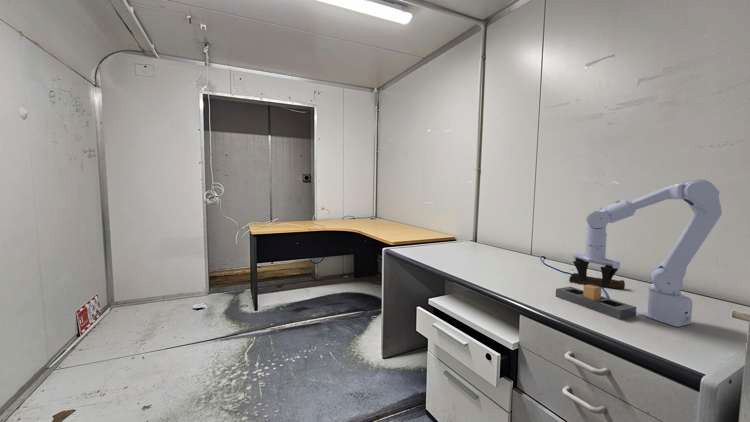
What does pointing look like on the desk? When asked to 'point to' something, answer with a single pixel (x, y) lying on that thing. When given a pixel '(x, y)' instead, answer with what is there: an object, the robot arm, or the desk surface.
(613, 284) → the hand tool
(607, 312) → the grey slotted block
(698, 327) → the desk surface
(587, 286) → the peg
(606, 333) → the desk surface
